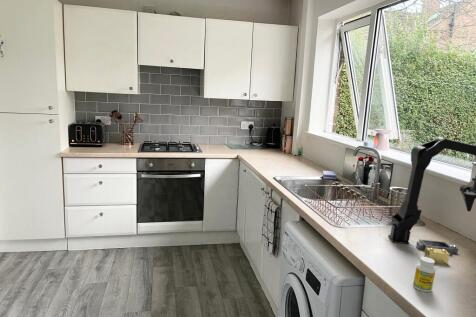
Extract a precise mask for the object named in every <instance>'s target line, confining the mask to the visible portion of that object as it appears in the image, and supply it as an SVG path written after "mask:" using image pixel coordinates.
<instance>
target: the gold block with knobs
mask: <svg viewBox="0 0 476 317" xmlns="http://www.w3.org/2000/svg"><path fill="white" fill-rule="evenodd" d="M423 257H428V258H431V259H433V260H434V261H435V263H439V264H447V265H448V264H449V260H450V259H449V258H450V254H449V253H448V252H447V251H446V250H445V249H434V248H426V250H425V251H424V255H423Z"/></svg>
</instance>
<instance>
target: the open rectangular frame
mask: <svg viewBox="0 0 476 317" xmlns="http://www.w3.org/2000/svg"><path fill="white" fill-rule="evenodd" d="M457 246H458V245H455V244H448V243H447V242H446V241H438V240H432V239H431V240H430V239H429V240H428V239H421V238H420V239H418V241H416V244H415V247H416V248H417V249H418V250H421V251H422V250H423V252H425V250H426V248H434V249H445V250H446V251H447V252H448V253H449V254H450V255H451V256H452V255H453V254H456V255H458V252H459V248H458V247H457ZM450 255H449V256H450Z"/></svg>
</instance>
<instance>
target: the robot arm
mask: <svg viewBox="0 0 476 317" xmlns="http://www.w3.org/2000/svg"><path fill="white" fill-rule="evenodd" d="M445 149H446V150H451V151H455V152H459V153H464V154H469V155H472V156H474V157H476V144H470V143H466V142H462V141H461V142H460V141H457V140H453V139H448V138H446V137H442V136H440V137H439V136H438V137H437V138H435V139H433V140H430V141H428V142H425V143H423V144H420V145H417V146H414V147H413V148H412V149H411V152H410V162H411V171H410V178H409V181H408V186H407V191H406V195H405V199H404V201H403V203H402V204H401V205H400V208H399V211H398V212H397V213H396V214H394V215H392V216H391V217H390V219H391V222H392V223H391V228H390V233H389V235H388V237H389V239H390V240H391V241H392V242H393V243H397V244H398V243H399V244H407V245H408V244H410V242H409V241H410V237H411V233H412V232H411V230H412V229H413V227H414V225H415V226H416V225H417V223H418V222H419V221H421V218H420V217H421V214H422V212H423V211H422V209H421V208H420V207H418V202H419V197H420V193H421V188H422V184H423V179H424V175H425V171H426V169H427V168H428V167H429V165H430V164H431V161H432V160H433V158H434V157H436V156H438V154H440V153H441V152H442V151H443V150H445ZM471 164H472V165H474V166H476V160H475V161H473V162H471ZM471 181H473V185H469V184H462V185H461V186H460V187H459V191H460V193H461V196H462V198H463V201H464V205H465V207H466V211H467V212H471V211H472V208H473V206H474V203H475V200H476V174H475V176H474V177H472V178H471Z"/></svg>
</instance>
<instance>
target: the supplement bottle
mask: <svg viewBox="0 0 476 317" xmlns="http://www.w3.org/2000/svg"><path fill="white" fill-rule="evenodd" d="M435 263H436V262H435V261H434V260H433V259H431V258H428V257H424V256H421V257H420V259H419V262H418V263H417V264H416V267H415V272H414V276H413V277H414V278H413V281H412V282H413V283H412V286H413V287H414V288H415V289H416V290H418V291H419V292H423V293H429V292H432V290H433V285H434V282H435V277H436V276H435V275H436V267H435Z"/></svg>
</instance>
